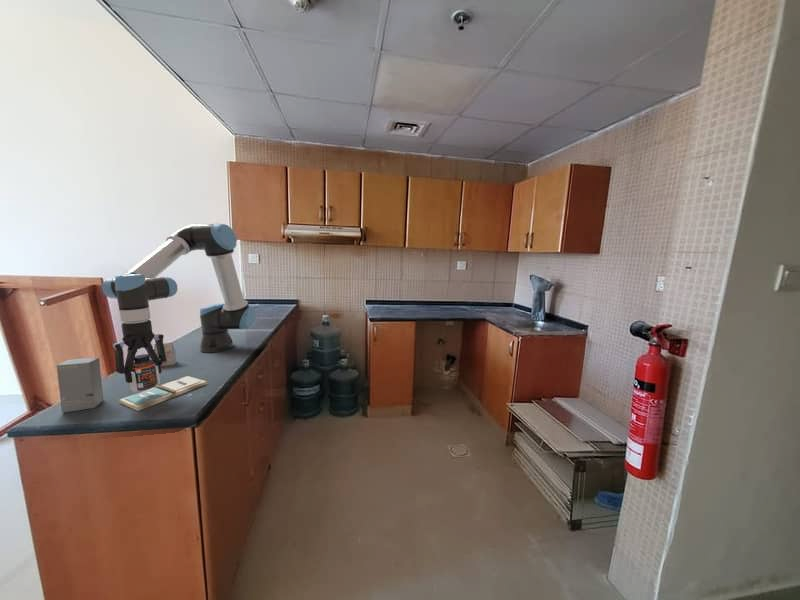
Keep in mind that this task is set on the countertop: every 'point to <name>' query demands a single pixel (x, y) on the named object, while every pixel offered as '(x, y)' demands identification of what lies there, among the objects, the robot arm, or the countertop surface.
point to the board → (163, 398)
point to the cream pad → (181, 383)
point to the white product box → (168, 354)
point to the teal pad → (147, 396)
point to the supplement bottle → (144, 372)
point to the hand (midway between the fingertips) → (145, 386)
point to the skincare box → (80, 384)
